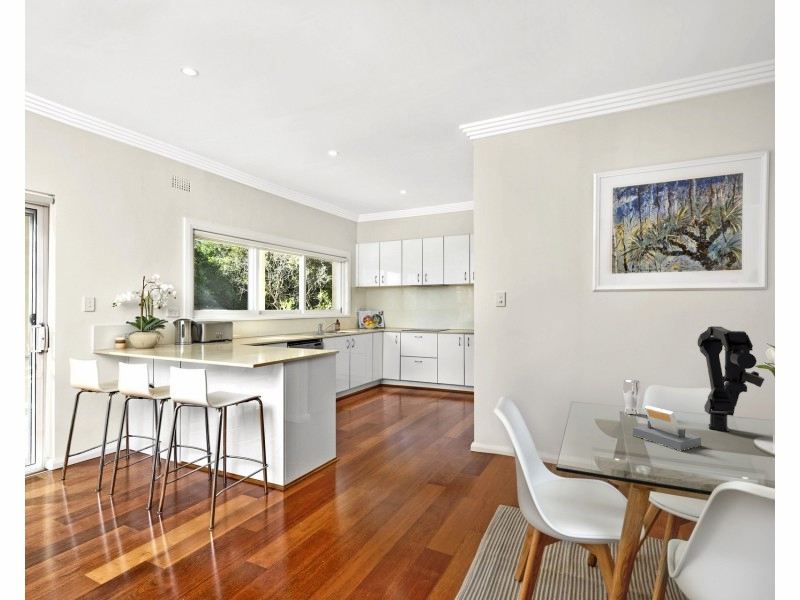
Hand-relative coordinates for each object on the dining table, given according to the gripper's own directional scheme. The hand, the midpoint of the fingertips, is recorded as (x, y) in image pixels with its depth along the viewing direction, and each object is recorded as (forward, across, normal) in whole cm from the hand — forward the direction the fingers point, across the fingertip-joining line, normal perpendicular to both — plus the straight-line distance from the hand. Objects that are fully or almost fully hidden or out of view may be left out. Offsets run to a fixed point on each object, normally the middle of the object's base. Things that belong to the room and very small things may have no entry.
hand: (734, 405), depth 161 cm
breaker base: (+13, -15, +21) cm, 29 cm away
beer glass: (+13, +19, +36) cm, 43 cm away
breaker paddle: (+9, -15, +21) cm, 27 cm away
